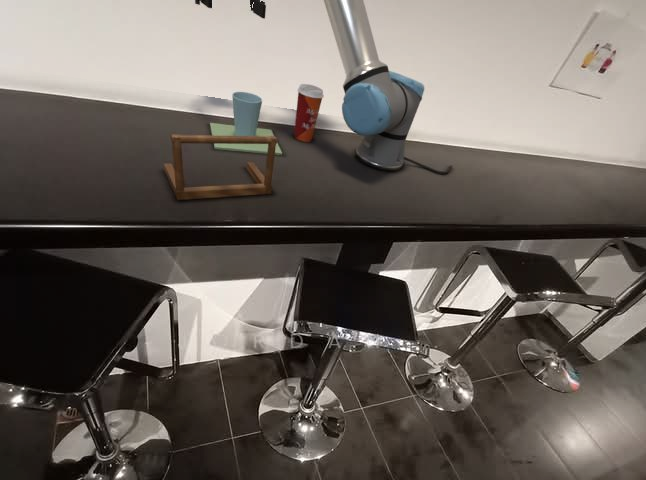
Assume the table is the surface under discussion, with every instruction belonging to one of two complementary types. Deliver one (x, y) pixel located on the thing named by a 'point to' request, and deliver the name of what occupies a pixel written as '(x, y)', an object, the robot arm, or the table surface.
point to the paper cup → (307, 111)
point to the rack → (261, 187)
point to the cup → (246, 113)
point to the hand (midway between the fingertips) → (238, 6)
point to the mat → (254, 148)
